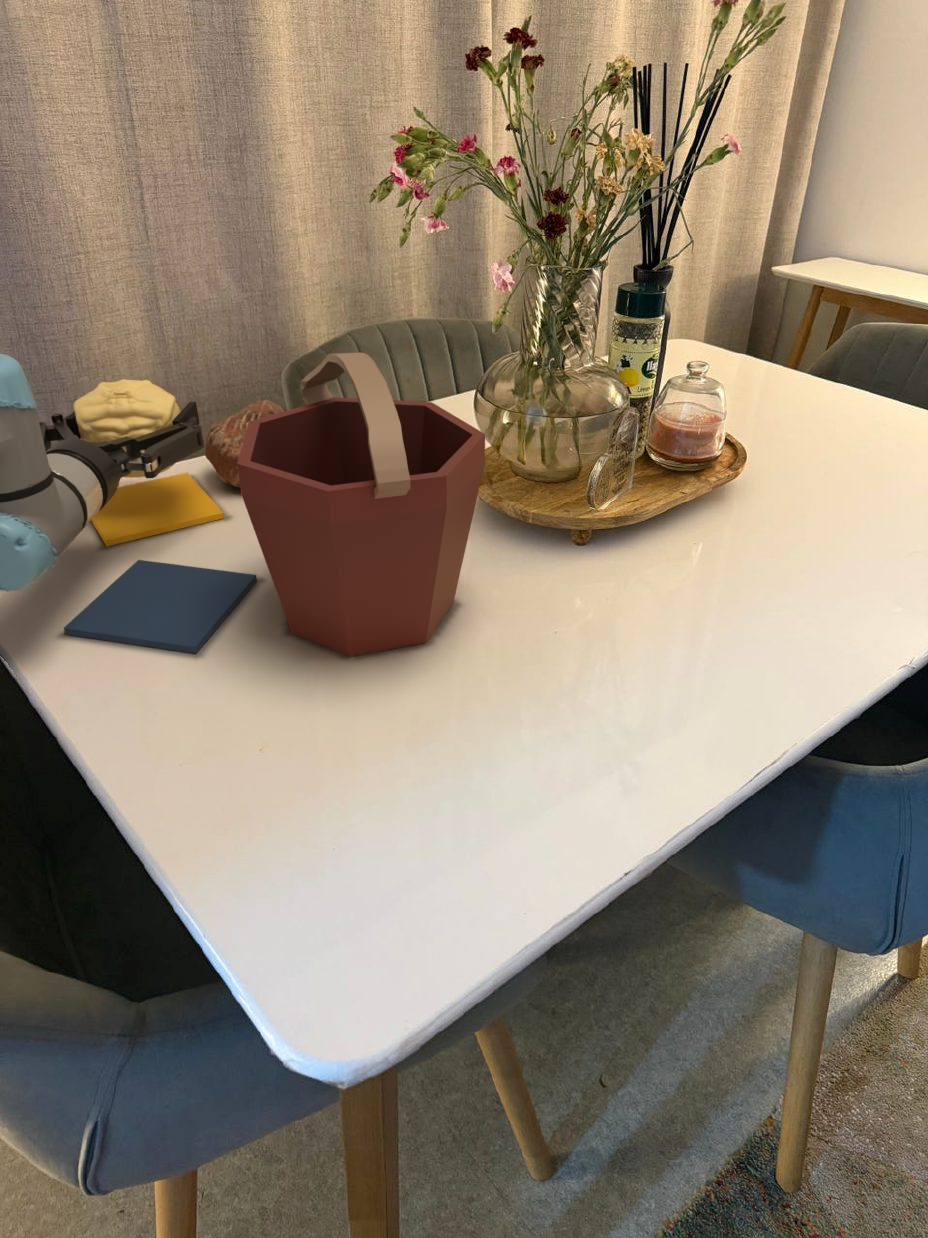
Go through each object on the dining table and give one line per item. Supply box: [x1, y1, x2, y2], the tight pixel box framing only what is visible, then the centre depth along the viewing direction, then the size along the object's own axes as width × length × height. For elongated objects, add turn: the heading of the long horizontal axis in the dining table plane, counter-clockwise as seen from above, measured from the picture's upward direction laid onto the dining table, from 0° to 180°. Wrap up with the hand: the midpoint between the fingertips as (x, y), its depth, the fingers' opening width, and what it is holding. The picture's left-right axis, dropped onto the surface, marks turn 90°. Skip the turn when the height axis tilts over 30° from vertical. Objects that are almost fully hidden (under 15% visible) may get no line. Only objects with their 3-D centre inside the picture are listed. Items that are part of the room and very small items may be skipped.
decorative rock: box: [204, 399, 284, 488], centre depth 116 cm, size 13×11×10 cm
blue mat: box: [63, 559, 258, 655], centre depth 91 cm, size 14×14×1 cm
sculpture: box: [73, 378, 182, 479], centre depth 104 cm, size 11×12×11 cm
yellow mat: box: [90, 472, 225, 547], centre depth 110 cm, size 14×14×1 cm
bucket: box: [237, 352, 486, 658], centre depth 85 cm, size 24×22×25 cm
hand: (144, 411), depth 107 cm, fingers closed on sculpture, 12 cm apart
